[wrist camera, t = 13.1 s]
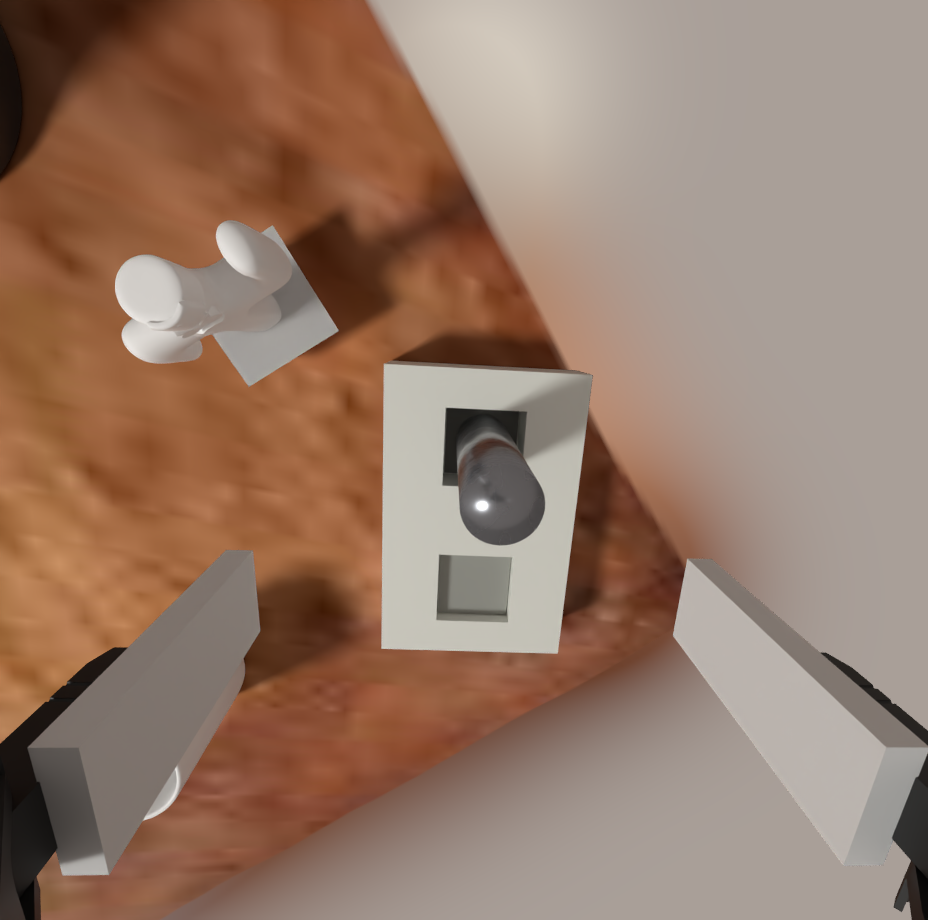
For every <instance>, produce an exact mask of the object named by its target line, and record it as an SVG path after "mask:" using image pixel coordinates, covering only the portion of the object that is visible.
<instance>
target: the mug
mask: <svg viewBox="0 0 928 920" xmlns="http://www.w3.org/2000/svg"><path fill="white" fill-rule="evenodd" d="M244 677H245V663H244V658H243V660H242V661H241V663H240V665H239V666H238V668H237V670H236V671H235V673H234V674H233V676H232V678H231V679H230V681H229V682H228V684H227V686H226V687H225V689H224V690H223V692H222V694H221V695H220V697H219V698H218V700H217V702H216V703H215V705H214V707H213V708H212V710H211V711H210V713H209V715H208V716H207V718H206V719H205V721H204V723H203V724H202V726H201V727H200V729H199V731H198V732H197V734H196V736H195V737H194V739H193V740H192V742H191V744H190V745H189V747H188V748H187V750H186V752H185V753H184V755H183V756H182V758H181V760H180V761H179V763H178V764H177V766H176V768H175V769H174V771H173V773H172V774H171V776H170V777H169V779H168V781H167V782H166V784H165V785H164V787H163V789H162V790H161V792H160V793H159V795H158V797H157V798H156V800H155V801H154V803H153V805H152V806H151V808H150V810H149V811H148V813H147V814H146V816H145V818H144V819H143V820H146V819H150V818H152V817H154V816H157V815H158V814H160V813H162V812H163V811H164V810H166V809H167V808H168V807H169V806H170V805H171V804H172V803H173V802H174V801H175V799H176V798H177V796H178V794H179V793H180V791H181V789H182V788H183V786H184V784H185V783H186V781H187V779H188V778H189V776H190V774H191V772H192V771H193V769H194V767H195V766H196V764H197V762H198V761H199V759H200V757H201V756H202V754H203V752H204V750H205V749H206V747H207V745H208V744H209V742H210V740H211V739H212V737H213V735H214V734H215V732H216V730H217V729H218V727H219V725H220V723H221V722H222V720H223V718H224V717H225V715H226V713H227V712H228V710H229V708H230V707H231V705H232V703H233V701H234V700H235V698H236V696H237V695H238V693H239V691H240V689H241V686H242V684H243V681H244Z"/></svg>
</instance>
